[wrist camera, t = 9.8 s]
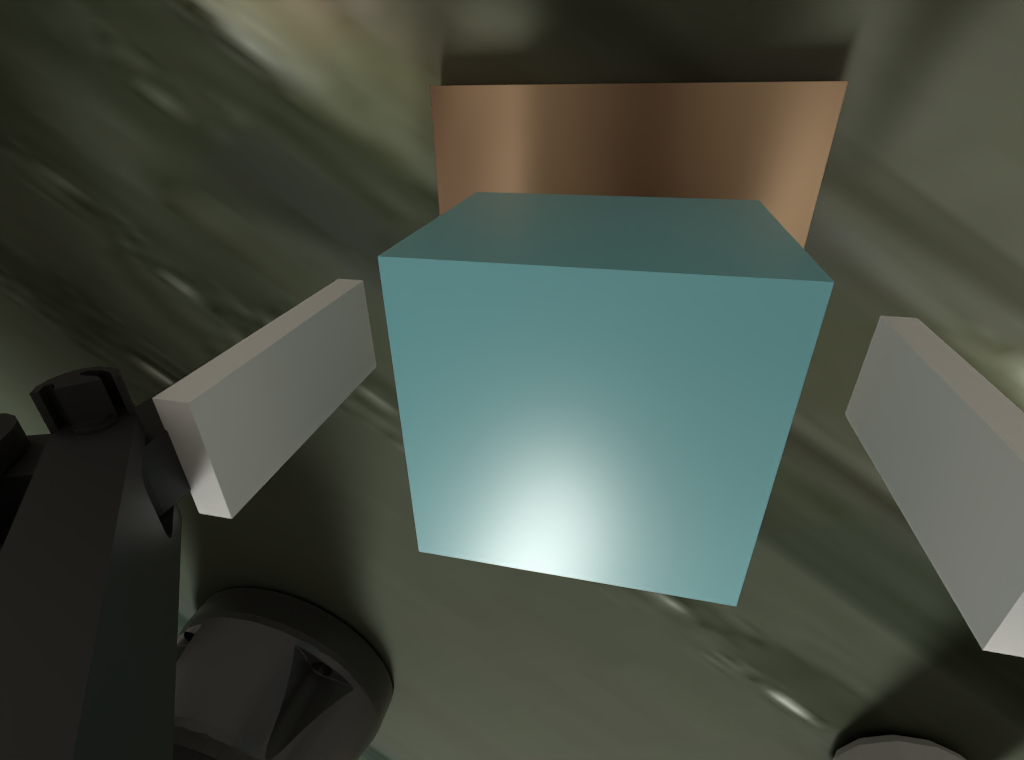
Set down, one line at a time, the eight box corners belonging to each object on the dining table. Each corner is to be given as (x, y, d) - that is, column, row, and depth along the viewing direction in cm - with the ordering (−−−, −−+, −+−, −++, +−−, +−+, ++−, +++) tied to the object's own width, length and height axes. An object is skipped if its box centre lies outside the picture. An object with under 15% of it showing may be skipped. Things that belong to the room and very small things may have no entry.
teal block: (486, 413, 17) (419, 551, 12) (476, 192, 14) (377, 256, 9) (708, 438, 16) (736, 606, 11) (758, 200, 13) (834, 281, 7)
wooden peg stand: (461, 394, 23) (355, 573, 15) (440, 85, 17) (244, 91, 9) (748, 426, 21) (815, 660, 13) (836, 81, 15) (1076, 83, 7)
